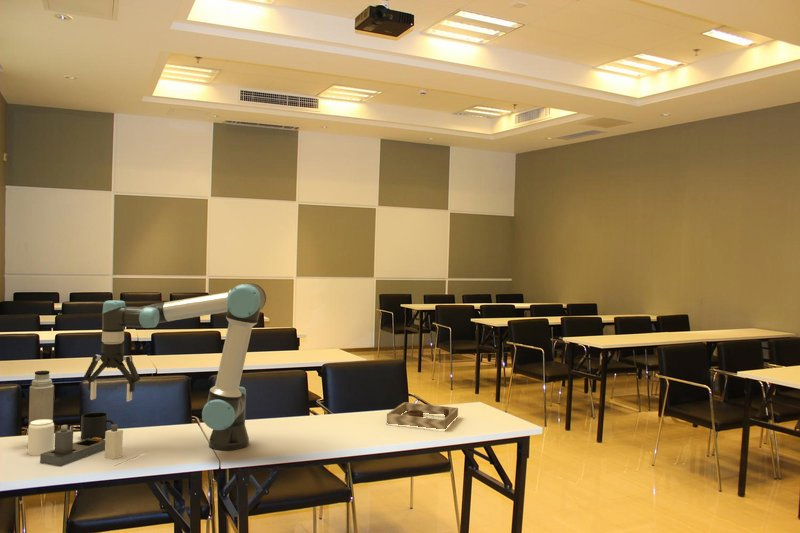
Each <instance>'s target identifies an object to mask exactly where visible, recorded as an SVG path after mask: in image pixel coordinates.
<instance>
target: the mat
mask: <svg viewBox="0 0 800 533" xmlns="http://www.w3.org/2000/svg"><path fill="white" fill-rule="evenodd" d="M137 457H138V458H139V455H137V456H134V457H132V458H129V459H127V460H126V462H127V461H130V460H133V459H134V458H135V459H136V458H137ZM122 463H124V461H122V462H121V463H118V464H115V465H114V466H115V467H116V466H117V465H120V464H122Z"/></svg>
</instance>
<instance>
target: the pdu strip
mask: <svg viewBox="0 0 800 533" xmlns="http://www.w3.org/2000/svg"><path fill="white" fill-rule="evenodd" d="M54 450H55V448H54ZM54 450H51V451H48V452H45V453H42V454H40V455H39V457H40V458H39V459H40V460H39V461H40V462H39V463H40V464H44V465H50V466H58V467H63V466H66V465H68V464H70V463H73V462H77V461H79V460H81V459H85V458H88V457H89V456H93V455H95V454H99V453H101V452H103V451H104V452H105V439H102V438H97V437H94V438H87V439H84V440H82V439H81V440H78V441H75V442H73V452H70V453H67V454H64V455H62V454H56V453H54Z"/></svg>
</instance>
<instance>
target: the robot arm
mask: <svg viewBox="0 0 800 533" xmlns="http://www.w3.org/2000/svg"><path fill="white" fill-rule="evenodd" d="M266 304H267V294H266V292H265V290H264V289H263V287H261V286H260V285H258V284H256V283H252V282H251V283H250V282H249V283H244V284H243V283H241V284H238V285H236V286H235V287H233V288H230V289H229V291H226V292H220V293H214V294H209V295H208V294H207V295H202V296H196V297H190V298H184V299H178V300H172V301H171V300H170V301H165V302H160V303H152V304H150V305H144V306H127V305H126V301H124V300H115V299H114V300H105V301H104V302H103V306H102V313H101V315H102V321H101V322H102V323H101V324H102V327H101V342H102V343H101V355H100V354H93V355H92V357H91V358H92V359H91V362H90V364H89V366H88V368H87V370H86V372H85V374H84V376H83V378H82V379H83V380H84V381H87V382H88V390H89V391H90V400H91V401H93V400H95V399H97V387H98V386H97V384H98V383H97V380H96V378H98V376H99V375H100V374H101V373H102V372H103V371H104V370H105V369H116V368H117V369H118V370H119V371H120V373H121V374H122V375H123V376H124V378H125V379H126V380H127V381H128V383H126V402H130V401H132V400H133V392H135V390H136V387H135V386H136V385H135V384H136V383H137V382H139V381H140V380H141V378H140V376H139V373H138V371H137V368H136V366H135V364H134V362H133V356H132V355H128V356H125V355H124V353H125V349H124V348H125V344H124V341H125V327H126V328H142V329H143V328H145V329H149V328H156V327H157V325H158V324H161V323H167V322H173V321H177V320H184V319H192V318H198V317H204V316H209V315H215V314H221V313H226V316H225V318H226V321H228V326H227V331H226V334H225V339H224V344H223V348H222V353H221V356H220V357H221V358H220V362H219V366H218V367H219V368H218V371H217V375H216V380H215V385H214V386H212V387H210V389H209V392H208V398H207V402H206V403H205V404H204V406H203V408H202V412H201V418H202V421H203V423H204V424H205V425H206V427H208V428H209V429H210V430H211V429H212V432H211V433H210V436H209V440H208V446H209V448H211V449H213V450H219V451H235V450H240V449H244V448H247V447H248V446H249V444H250V438H249V434H248V430H247V428H246V404H247V403H246V402H247V401H246V400H247V389H246V388H245V387H244V386H240V385H241V384H240V383H241V380H242V375H243V370H244V366H245V361H246V356H247V352H248V348H249V344H250V339H251V334H252V330H253V327H254V326H255V325H257V324H258V321H259V317H260V313H261V311H262V309H263V308H264V307H265V306H266ZM99 361H101V362H102V363H101V364H100V365H99V367H98V368H97V369H96V370H95V368H96V367H97V365H98V363H99ZM124 363H126V365H125V364H124ZM126 366H127V367H126ZM127 368H128V369H127Z"/></svg>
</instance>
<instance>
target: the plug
mask: <svg viewBox="0 0 800 533" xmlns="http://www.w3.org/2000/svg"><path fill="white" fill-rule="evenodd" d="M110 426H111V427H110V428H111V430H108V431H106V432H105V438H104V440H105V450H104V458H105V459H110V460H115V459H118V458H120V457H122V456H123V438H124V436H123V435H124V434H123V433H124V430H123V429H121V428H120V429H119V428H118V424H115V423H114V425H112V424H111V425H110Z"/></svg>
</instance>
